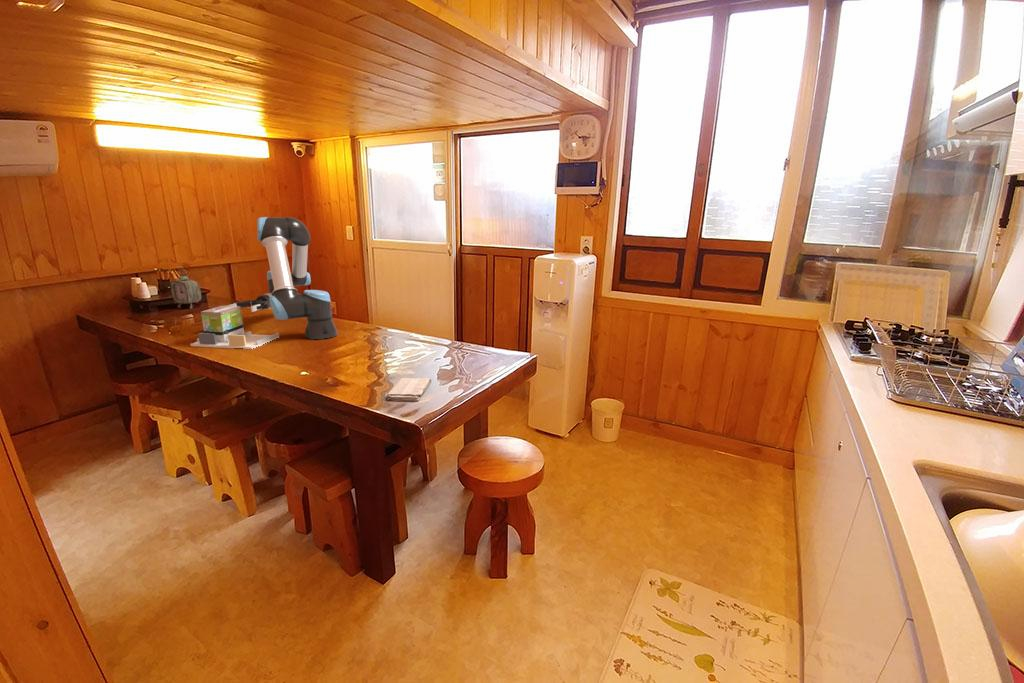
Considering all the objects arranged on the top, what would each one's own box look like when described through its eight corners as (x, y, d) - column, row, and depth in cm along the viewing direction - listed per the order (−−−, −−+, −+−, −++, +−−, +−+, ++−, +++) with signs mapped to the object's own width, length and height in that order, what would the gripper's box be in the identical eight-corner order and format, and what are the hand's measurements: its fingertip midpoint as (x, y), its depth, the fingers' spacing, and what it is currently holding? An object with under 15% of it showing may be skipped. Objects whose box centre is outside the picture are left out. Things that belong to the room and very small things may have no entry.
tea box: (225, 342, 210) (220, 311, 206) (205, 341, 210) (199, 311, 206) (245, 334, 224) (240, 305, 220) (226, 333, 225) (221, 304, 221)
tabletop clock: (174, 308, 284) (166, 268, 277) (188, 305, 292) (180, 267, 285) (191, 310, 279) (183, 270, 272) (204, 307, 288) (197, 268, 281)
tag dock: (279, 337, 223) (277, 326, 221) (252, 349, 204) (250, 336, 202) (222, 334, 226) (220, 323, 225) (190, 346, 207) (188, 333, 206)
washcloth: (386, 402, 151) (385, 393, 150) (400, 382, 168) (400, 375, 168) (420, 403, 151) (420, 394, 150) (431, 383, 168) (431, 375, 167)
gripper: (288, 308, 246) (262, 316, 225) (246, 307, 249) (218, 315, 228) (286, 295, 244) (260, 302, 223) (244, 293, 247) (215, 300, 226)
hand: (239, 308), depth 226 cm, fingers open, 13 cm apart
